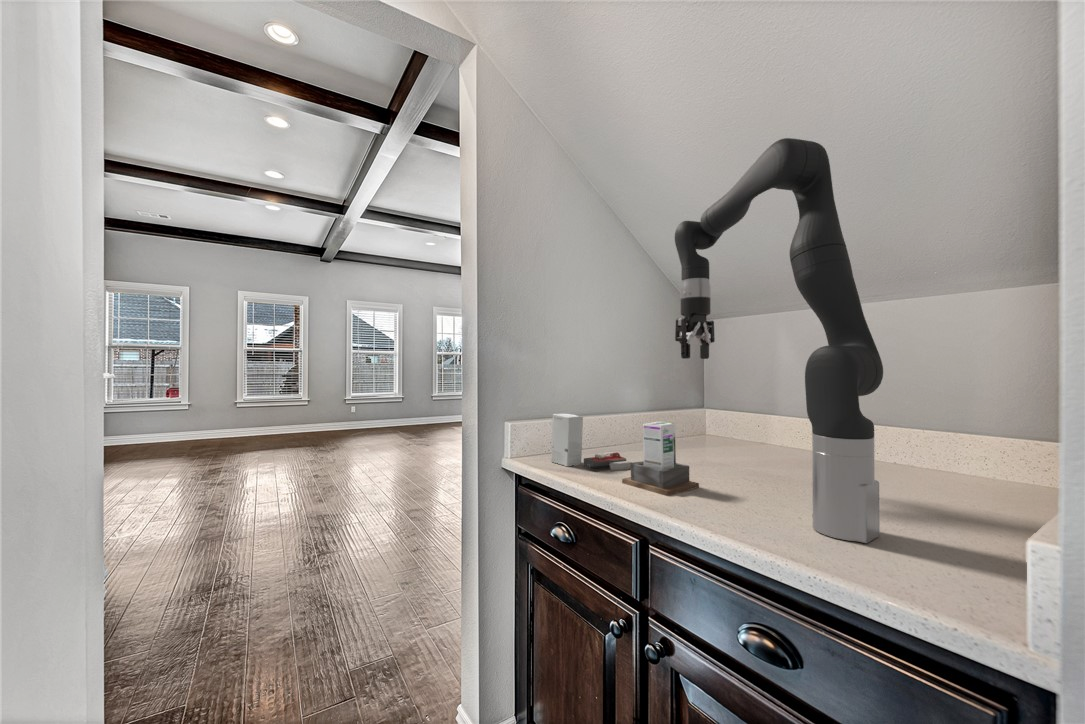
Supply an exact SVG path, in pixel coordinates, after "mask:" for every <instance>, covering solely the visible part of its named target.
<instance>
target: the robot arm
mask: <svg viewBox="0 0 1085 724" xmlns="http://www.w3.org/2000/svg"><path fill="white" fill-rule="evenodd" d="M829 158H830V157H829V155H828V153H827V150H826V148H825V147H824V146H823V145H822V144H821V143H818V142H816V141H813V140H812V141H811V140H808V139H807V140H806V139H800V138H791V137H785V138H781V139H778V140H777V141H775V142H773V143H772V144H771V145H770V146H769V147H767V148H766V149H765V151H764V152H762V154H761V155H760V156H758V158H757V159H756V161H755V162H754V163H753V164H752V165H751V166H750V167H749V168H748V169H747V171H745V173H744V174H743V175H742V177H740V179H739V180H738V181H737V182H736V183H735V185H733V186H732V188H731V189H730V190H728V191H727V192H726V193H725V194H724V195H723V196H722V197H721V198H719V199H718V200H717V201H716V202H714V203H713V204H712V205H710V206H709V207H708V208H707V209H706V210H704V212H703V213H702V214H701V217H700V219H699V220H700V221H697V220H696V221H695V220H683V221H681V222H680V223H679V224H678V225H677V227H676V229H675V233H674V244H675V248H676V251H677V252H676V253H677V255H678V259H679V263H680V266H681V282H680V283H681V284H680V316H682V317H678V318H676V319H675V329H674V330H675V333H674V335H675V336H674V341H676V342H679V345H680V355H681V356H680V357H681V359H685V360H687V359H690V358H691V341H692V339H693V338H696V339H698V342H699V343H700V344H699V345H700V346H699V349H700V350H699V351H700V353H699V355H700V356H699V357H700V359H702V360H708V359H709V358H710V345H711V344H713V343H715V341H716V340H715V321H714V320H708V319H707V316H710V315H711V284H710V261H709V259H708V258H706V257H704V256H702V255H701V254H699V253H698V251H697V250H707V249H710V248H712V247H713V246H714V245H715V244H716V243H717V242H718V240H719V239H720V237H722V235H723V234H724V233H725V232H726V231H728V230H729V229H730V228H732V227H734V226H735V225H736V224H738V223H739V222H740V221H741V220H742V219H744V217H745V216H746V215H747V213H748V211H749V208H750V207H751V203H752V201H753V200H754V199H756V197H758V196H759V195H760V194H763V193H765V192H766V191H769V190H772V189H777V190H786V191H792V193H793V195H794V197H795V200H796V205H797V209H798V215H799V219H798V223H797V226H796V229H795V231H794V234H793V237H792V240H791V243H790V247H789V260H790V261H789V262H790V265H791V270H792V273H793V278H794V282H795V285H796V287H797V289H798V291H799V292H800V295H801V296H802V298H803V299H804V300H805V302H806V304H807V305H809V307H810V309H811V310H812V311H813V312H814V314H815V315H816V317H817V318H818V320H819V321H820V323H821V325H822V327H823V329H824V332H825V337H826V341H827V345H824V346H821V347H819V348H817V349H815V350H814V351H813V352H811V354H810V356H809V357H808V359H807V362H806V364H805V365H806V366H805V368H804V369H805V370H804V371H805V372H804V387H805V401H806V404H805V405H806V413H807V417H808V419H809V421H810V425H811V430H812V431H811V436H812V437H811V438H812V440H811V441H812V445H811V446H812V449H811V450H812V454H811V455H812V458H811V459H812V461H811V462H812V468H811V470H812V471H811V472H812V475H811V477H812V478H811V479H812V528H813V530H815V531H816V532H818V533H820V534H822V535H825V536H826V537H831V538H834V539H838V540H843V541H850V542H858V543H863V544H869V543H870V542H871V541H873V540H875V539H877V538H878V537H880V535H881V534H880V532H881V531H880V530H881V529H880V528H881V527H880V525H881V524H880V520H881V519H880V481H879V480H877V479H875V477H876V476H875V424H874V423H873V421H872V420H871V419H869V418H867V417H866V416H865V415H864V414H863V413H862V411H861V408H860V397H863V396H868V395H870V394H873V393H874V392H875V391H877V389H878V388H879V387H880V386H881V384H882V381H883V377H884V365H883V361H882V359H881V355H880V353H879V350H878V348H877V345H876V342H875V340H874V339H873V336H872V333H871V330H870V328H869V325H868V323H867V320H866V317H865V315H864V311H863V306H862V304H861V300H860V295H859V292H858V289H857V284H856V282H855V281H856V280H855V278H854V274H853V269H852V268H853V267H852V264H851V263H852V262H851V259H850V256H849V252H848V248H847V245H846V241H845V239H844V235H843V231H842V227H841V223H840V219H839V214H838V210H837V205H836V202H835V195H834V188H833V179H832V171H831V170H832V169H831V164H830V159H829Z"/></svg>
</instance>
